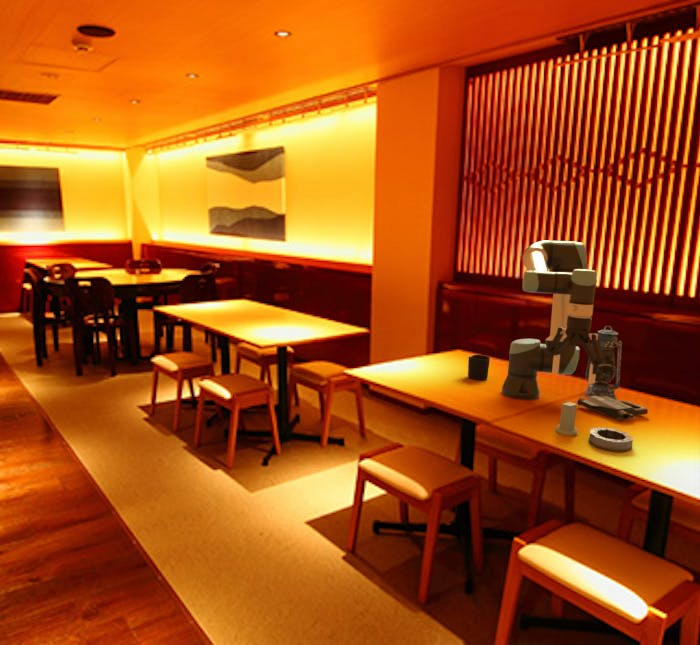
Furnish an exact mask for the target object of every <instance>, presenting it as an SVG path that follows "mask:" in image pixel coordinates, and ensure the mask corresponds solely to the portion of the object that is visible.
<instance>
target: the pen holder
mask: <svg viewBox="0 0 700 645" xmlns="http://www.w3.org/2000/svg"><path fill="white" fill-rule="evenodd" d="M490 359H491V358H490V356H488V355H484V354H483V355H482V354H473V355H471V356H468V362H467V363H468V364H467V365H468V367H467V368H468V369H467V377H468V379H470V380H473V381H479V382H483V381H486V380H488V377H489V376H488V375H489V368H490Z"/></svg>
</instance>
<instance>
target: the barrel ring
mask: <svg viewBox="0 0 700 645" xmlns="http://www.w3.org/2000/svg"><path fill="white" fill-rule="evenodd" d="M633 441H634V440H633V436H632V435H630V434H629V433H627V432H625V431H622V430H619V429H615V428H610V427H594V428H591V429H590V432H589V437H588V443H589V444H590V445H591V446H593V447H594V448H597V449H599V448H600V450H602V449H603V450H602V451H607V452H613V453H628V452H631V451H632V450H633Z"/></svg>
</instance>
